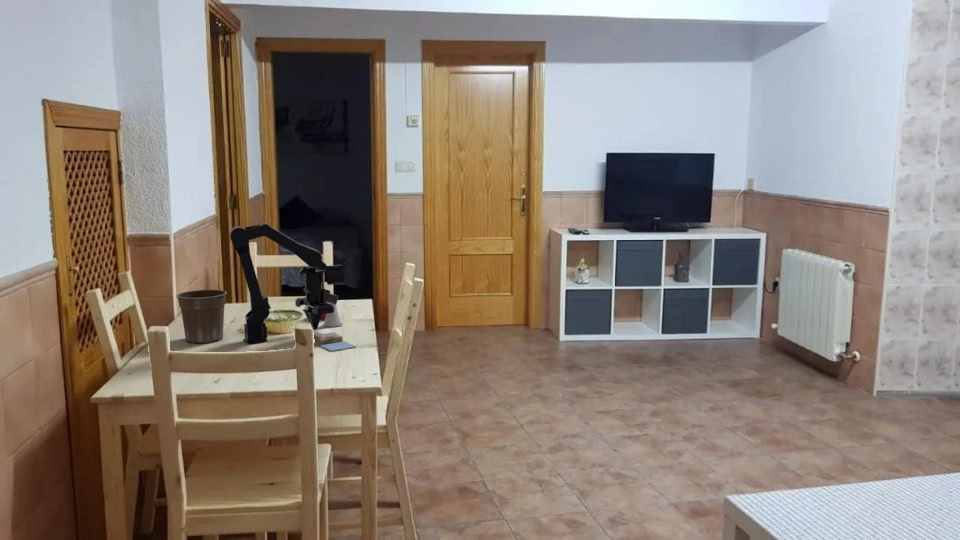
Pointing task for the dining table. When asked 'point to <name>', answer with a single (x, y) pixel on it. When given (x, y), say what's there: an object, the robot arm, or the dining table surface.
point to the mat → (337, 346)
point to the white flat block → (324, 333)
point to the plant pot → (202, 314)
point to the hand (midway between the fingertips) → (315, 329)
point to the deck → (328, 340)
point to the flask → (333, 318)
